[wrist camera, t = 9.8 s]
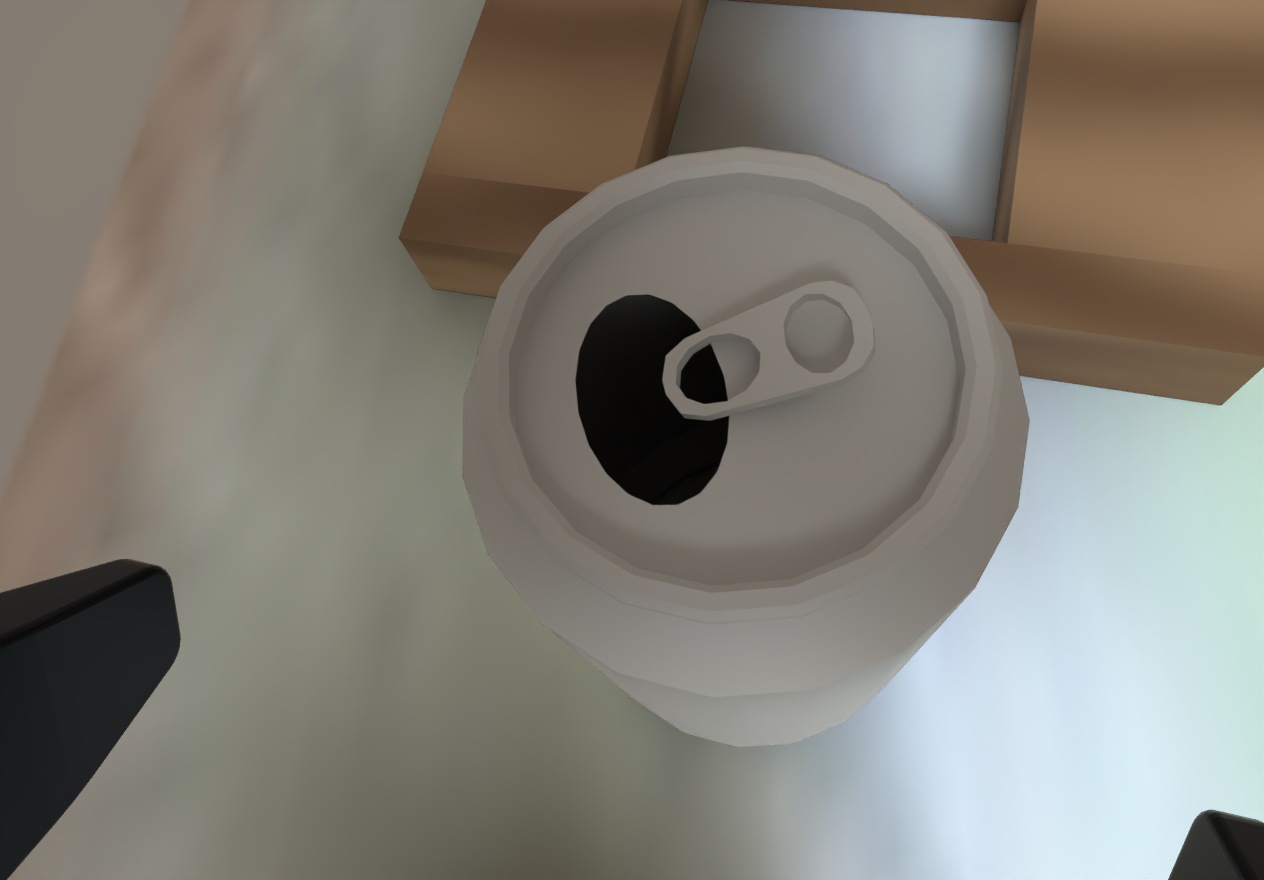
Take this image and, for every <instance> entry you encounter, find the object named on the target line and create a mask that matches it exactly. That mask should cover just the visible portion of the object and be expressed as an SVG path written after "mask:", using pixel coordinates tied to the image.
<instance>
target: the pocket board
mask: <svg viewBox="0 0 1264 880" xmlns="http://www.w3.org/2000/svg"><path fill="white" fill-rule="evenodd" d="M707 1H708V0H486V3H485V6H484V8H483V11H482V14H481V16H480V19H479V22H478V25H477V27H476V30H475V33H474V35H473V38H472V41H471V44H470V46H469V49H468V52H467V54H466V57H465V60H464V62H463V65H462V68H461V71H460V73H459V76H458V79H457V81H456V84H455V87H454V90H453V92H452V95H451V98H450V100H449V103H448V106H447V109H446V111H445V114H444V117H443V119H442V122H441V125H440V128H439V130H438V133H437V136H436V138H435V141H434V144H433V147H432V149H431V152H430V155H429V157H428V160H427V163H426V166H425V168H424V171H423V174H422V176H421V179H420V182H419V185H418V187H417V190H416V193H415V195H414V198H413V201H412V204H411V206H410V209H409V212H408V214H407V217H406V220H405V222H404V225H403V228H402V231H401V233H400V236H399V239H400V240H401V242H402V243H403V245H404V246H405V248H406V249H407V251H408V253H409V254H410V256H411V257H412V259H413V260H414V262H415V263H416V265H417V266H418V268H419V270H420V271H421V273H422V274H423V276H424V277H425V279H426V280H427V282H428V283H429V285H430V287H431V288H433V289H440V290H447V291H454V292H460V293H467V294H474V295H481V296H487V297H494V298H497V295H498V292H499V289H500V286H501V285H502V283H503V282H504V281H505V279H506V278H507V276H508V275H509V274H510V272H511V271H512V270H513V268H514V267H515V266H516V264H517V263H518V262H519V260H520V259H521V258H522V256H523V255H524V254H525V252H526V251H527V250H528V248H529V247H530V245H531V244H532V243H533V241H534V240H535V239H536V237H537V236H538V235H539V233H540V232H541V231H542V229H543V228H544V227H545V226H547V225H548V224H549V223H551V222H552V221H553V220H555V219H556V218H557V217H559V216H560V215H561V214H562V213H564V212H565V211H566V210H568V209H569V208H570V207H572V206H573V205H574V204H576V203H577V202H578V201H580V200H581V199H582V198H583V197H585V196H586V195H587V194H589V193H590V192H591V191H593V190H594V189H595V188H597V187H598V186H599V185H601V184H602V183H605V182H607V181H609V180H612V179H614V178H617V177H619V176H622V175H624V174H627V173H629V172H632V171H634V170H636V169H639V168H641V167H644V166H646V165H649V164H651V163H654V162H656V161H658V160H661V159H663V158H665V157H666V154H667V150H668V146H669V142H670V139H671V135H672V131H673V128H674V124H675V120H676V116H677V113H678V109H679V105H680V102H681V98H682V94H683V90H684V87H685V83H686V79H687V76H688V72H689V68H690V64H691V61H692V57H693V53H694V50H695V46H696V42H697V38H698V35H699V31H700V27H701V24H702V20H703V16H704V12H705V9H706V5H707ZM731 1H745V2H758V3H772V4H785V5H799V6H812V7H826V8H839V9H852V10H866V11H879V12H893V13H906V14H920V15H933V16H947V17H960V18H974V19H987V20H1001V21H1014V22H1020V27H1019V34H1018V42H1017V50H1016V58H1015V66H1014V74H1013V81H1012V89H1011V97H1010V105H1009V113H1008V121H1007V128H1006V136H1005V144H1004V152H1003V160H1002V168H1001V175H1000V183H999V191H998V199H997V207H996V214H995V222H994V230H993V238H992V241H986V240H977V239H969V238H961V237H952V236H949V237H950V238H951V240H952V241H953V243H954V245H955V246H956V248H957V249H958V251H959V252H960V254H961V256H962V257H963V259H964V260H965V262H966V264H967V265H968V267H969V268H970V270H971V271H972V273H973V275H974V276H975V278H976V279H977V281H978V282H979V284H980V286H981V287H982V289H983V290H984V292H985V294H986V295H987V298H988V303H989V305H990V306H991V308H992V310H993V311H994V313H995V314H996V316H997V318H998V319H999V321H1000V322H1001V324H1002V325H1003V327H1004V329H1005V330H1006V332H1007V333H1008V335H1009V337H1010V338H1011V342H1012V346H1013V350H1014V355H1015V359H1016V364H1017V368H1018V372H1019V376H1026V377H1033V378H1040V379H1046V380H1053V381H1060V382H1067V383H1073V384H1080V385H1087V386H1094V387H1100V388H1107V389H1114V390H1121V391H1127V392H1134V393H1141V394H1147V395H1154V396H1161V397H1168V398H1174V399H1181V400H1188V401H1195V402H1201V403H1208V404H1215V405H1222V404H1223V403H1224V402H1226V401H1227V400H1228V399H1229V398H1230V397H1231V396H1232V395H1233V394H1234V393H1235V392H1237V391H1238V390H1239V389H1240V388H1241V387H1242V386H1243V385H1244V384H1245V383H1246V382H1248V381H1249V380H1250V379H1251V378H1252V377H1253V376H1254V375H1255V374H1256V373H1258V372H1259V371H1260V370H1261V369H1262V368H1263V367H1264V0H731Z"/></svg>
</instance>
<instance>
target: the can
mask: <svg viewBox="0 0 1264 880" xmlns="http://www.w3.org/2000/svg"><path fill="white" fill-rule="evenodd" d="M1028 429H1029V416H1028V412H1027V407H1026V403H1025V399H1024V394H1023V390H1022V385H1021V381H1020V377H1019V372H1018V368H1017V364H1016V359H1015V355H1014V350H1013V346H1012V342H1011V338H1010V337H1009V335H1008V333H1007V332H1006V330H1005V329H1004V327H1003V325H1002V324H1001V322H1000V321H999V319H998V318H997V316H996V314H995V313H994V311H993V310H992V308H991V306H990V305H989V303H988V298H987V295H986V294H985V292H984V290H983V289H982V287H981V286H980V284H979V282H978V281H977V279H976V278H975V276H974V275H973V273H972V271H971V270H970V268H969V267H968V265H967V264H966V262H965V260H964V259H963V257H962V256H961V254H960V252H959V251H958V249H957V248H956V246H955V245H954V243H953V241H952V240H951V238H950V237H949V235H948V234H947V232H946V231H945V230H943V229H942V228H941V227H940V226H939V225H937V224H936V223H935V222H934V221H932V220H931V219H930V218H929V217H928V216H926V215H925V214H924V213H923V212H921V211H920V210H919V209H918V208H917V207H915V206H914V205H913V204H912V203H910V202H909V201H908V200H907V199H906V198H904V197H903V196H902V195H901V194H900V193H898V192H897V191H896V190H895V189H893V188H892V187H891V186H890V185H889V184H886V183H884V182H881V181H879V180H877V179H874V178H872V177H869V176H867V175H865V174H862V173H860V172H857V171H855V170H853V169H850V168H848V167H845V166H843V165H841V164H838V163H836V162H833V161H831V160H829V159H826V158H824V157H822V156H819V155H811V154H804V153H796V152H788V151H780V150H772V149H764V148H756V147H748V146H740V147H733V148H725V149H718V150H710V151H703V152H695V153H687V154H680V155H672V156H668V157H666V158H663V159H661V160H658V161H656V162H654V163H651V164H649V165H646V166H644V167H641V168H639V169H636V170H634V171H632V172H629V173H627V174H624V175H622V176H619V177H617V178H614V179H612V180H609V181H607V182H605V183H602V184H601V185H599V186H598V187H597V188H595V189H594V190H593V191H591V192H590V193H589V194H587V195H586V196H585V197H583V198H582V199H581V200H580V201H578V202H577V203H576V204H574V205H573V206H572V207H570V208H569V209H568V210H566V211H565V212H564V213H562V214H561V215H560V216H559V217H557V218H556V219H555V220H553V221H552V222H551V223H549V224H548V225H547V226H545V227H544V228H543V229H542V231H541V232H540V233H539V235H538V236H537V237H536V239H535V240H534V241H533V243H532V244H531V245H530V247H529V248H528V250H527V251H526V252H525V254H524V255H523V256H522V258H521V259H520V260H519V262H518V263H517V264H516V266H515V267H514V268H513V270H512V271H511V272H510V274H509V275H508V276H507V278H506V279H505V281H504V282H503V283H502V285H501V286H500V289H499V292H498V295H497V298H496V301H495V303H494V306H493V309H492V312H491V315H490V318H489V321H488V324H487V326H486V329H485V332H484V335H483V338H482V341H481V344H480V347H479V349H478V352H477V361H476V363H475V366H474V369H473V372H472V375H471V378H470V381H469V384H468V386H467V389H466V392H465V395H464V409H463V479H464V482H465V485H466V488H467V491H468V494H469V497H470V500H471V503H472V506H473V509H474V512H475V515H476V518H477V521H478V524H479V527H480V530H481V533H482V537H483V540H484V543H485V546H486V549H487V552H488V555H489V556H490V557H491V558H492V560H493V561H494V562H495V564H496V565H497V566H498V567H499V569H500V570H501V571H502V573H503V574H504V575H505V576H506V578H507V579H508V580H509V582H510V583H511V584H512V585H513V587H514V588H515V589H516V591H517V592H518V593H519V595H520V596H521V597H522V598H523V600H524V601H525V602H526V604H527V605H528V606H529V607H530V609H531V610H532V611H533V613H534V614H535V615H536V616H537V618H538V619H539V620H540V622H541V623H542V624H543V625H545V626H546V627H547V628H548V629H549V630H551V631H552V632H553V633H554V634H555V635H557V636H558V637H559V638H560V639H562V640H563V641H564V642H565V643H566V644H568V645H569V646H570V647H571V648H572V649H574V650H575V651H576V652H577V653H578V654H580V655H581V656H582V657H583V658H585V659H586V660H587V661H588V662H589V663H591V664H592V665H593V666H594V667H595V668H597V669H598V670H599V671H600V672H601V673H603V674H604V675H605V676H606V677H608V678H609V679H610V680H611V681H612V682H614V683H615V684H616V685H617V686H618V687H620V688H621V689H622V690H623V691H625V692H626V693H627V694H628V695H629V696H631V697H632V698H633V699H634V700H635V701H637V702H638V703H639V704H641V705H642V706H644V707H645V708H647V709H648V710H650V711H651V712H653V713H654V714H656V715H658V716H659V717H661V718H662V719H664V720H665V721H667V722H668V723H670V724H671V725H673V726H674V727H676V728H677V729H679V730H680V731H682V732H683V733H686V734H690V735H694V736H698V737H701V738H705V739H709V740H713V741H716V742H720V743H724V744H728V745H731V746H735V747H749V746H765V745H780V744H794V743H797V742H799V741H801V740H804V739H806V738H809V737H811V736H813V735H816V734H818V733H820V732H823V731H825V730H828V729H830V728H832V727H835V726H837V725H840V724H842V723H844V722H846V721H847V720H848V719H849V718H851V717H852V716H853V715H854V714H855V713H856V712H857V711H858V710H859V709H861V708H862V707H863V706H864V705H865V704H866V703H867V702H868V701H869V700H871V699H872V698H873V697H874V696H875V695H876V694H877V693H878V692H879V691H881V690H882V689H883V688H884V687H885V686H886V685H887V684H888V683H889V682H890V681H891V680H892V679H893V677H894V676H895V675H896V674H897V673H898V672H899V671H900V670H901V669H902V668H903V666H904V665H905V664H906V663H907V662H908V661H909V660H910V659H911V658H912V657H913V656H914V654H915V653H916V652H917V651H918V650H919V649H920V648H921V647H922V646H923V645H924V643H925V642H926V641H927V640H928V639H929V638H930V637H931V636H932V635H933V634H934V632H935V631H936V630H937V629H938V628H939V627H940V626H941V625H942V624H943V623H944V621H945V620H946V619H947V618H948V617H949V616H950V615H951V614H952V613H953V612H954V610H955V609H956V608H957V607H958V606H959V605H960V604H961V603H962V602H963V601H964V599H965V598H966V597H967V596H968V595H969V594H970V593H971V592H972V591H973V590H974V588H975V587H976V585H977V583H978V581H979V579H980V578H981V576H982V574H983V572H984V570H985V568H986V566H987V564H988V563H989V561H990V559H991V557H992V555H993V553H994V551H995V549H996V548H997V546H998V544H999V542H1000V540H1001V538H1002V536H1003V535H1004V533H1005V531H1006V529H1007V527H1008V525H1009V523H1010V521H1011V520H1012V518H1013V516H1014V514H1015V512H1016V510H1017V508H1018V504H1019V496H1020V489H1021V481H1022V474H1023V466H1024V459H1025V451H1026V444H1027V436H1028Z"/></svg>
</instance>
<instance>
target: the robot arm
mask: <svg viewBox="0 0 1264 880" xmlns="http://www.w3.org/2000/svg"><path fill="white" fill-rule="evenodd" d="M180 640H181V638H180V629H179V623H178V617H177V611H176V605H175V599H174V592H173V586H172V581H171V578H170V576H169V574H168V573H167V571H166V570H165V569H163V568H162V567H160V566H157V565H153V564H149V563H144V562H140V561H136V560H130V559H120V560H115V561H112V562H108V563H105V564H101V565H98V566H94V567H90V568H87V569H83V570H80V571H76V572H73V573H69V574H66V575H62V576H58V577H55V578H51V579H48V580H44V581H41V582H37V583H34V584H30V585H27V586H23V587H19V588H16V589H12V590H9V591H5V592H2V593H0V880H7V879H8V878H9V877H10V876H11V874H12V873H13V872H14V871H15V870H16V869H17V867H18V866H19V865H20V864H21V863H22V862H23V860H24V859H25V858H26V857H27V856H28V855H29V854H30V852H31V851H32V850H33V849H34V848H35V847H36V845H37V844H38V843H39V842H40V841H41V840H42V838H43V837H44V836H45V835H46V834H47V833H48V831H49V830H50V829H51V828H52V827H53V826H54V824H55V823H56V822H57V821H58V820H59V819H60V817H61V816H62V815H63V814H64V812H65V811H66V810H67V809H68V808H69V806H70V805H71V804H72V803H73V802H74V800H75V799H76V798H77V796H78V795H79V794H80V792H81V791H82V790H83V788H84V787H85V786H86V784H87V783H88V782H89V780H90V779H91V778H92V777H93V775H94V774H95V772H96V771H97V770H98V768H99V767H100V765H101V764H102V763H103V761H104V760H105V758H106V757H107V756H108V754H109V753H110V751H111V750H112V749H113V747H114V746H115V744H116V743H117V742H118V740H119V739H120V737H121V736H122V735H123V733H124V732H125V730H126V729H127V728H128V726H129V725H130V723H131V722H132V721H133V719H134V718H135V716H136V715H137V714H138V712H139V711H140V710H141V708H142V707H143V705H144V704H145V703H146V701H147V700H148V698H149V697H150V696H151V694H152V693H153V691H154V690H155V689H156V687H157V686H158V684H159V683H160V682H161V680H162V679H163V677H164V676H165V675H166V673H167V672H168V670H169V669H170V668H171V666H172V665H173V663H174V661H175V659H176V657H177V654H178V651H179V648H180ZM1168 880H1264V823H1263V822H1261V821H1258V820H1255V819H1251V818H1247V817H1242V816H1238V815H1234V814H1229V813H1225V812H1221V811H1216V810H1207V811H1203V812H1201V813H1200V814H1199V815H1198V816H1197V817H1196V819H1195V820H1194V822H1193V823H1192V826H1191V828H1190V830H1189V833H1188V835H1187V837H1186V840H1185V842H1184V844H1183V846H1182V849H1181V851H1180V853H1179V856H1178V858H1177V860H1176V863H1175V865H1174V867H1173V869H1172V872H1171V874H1170V876H1169V879H1168Z"/></svg>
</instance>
